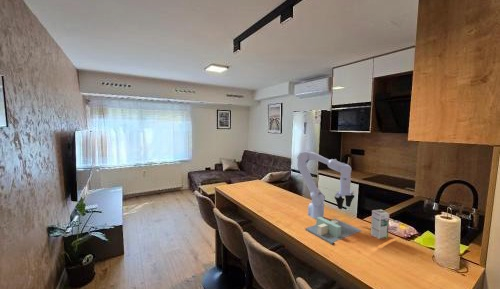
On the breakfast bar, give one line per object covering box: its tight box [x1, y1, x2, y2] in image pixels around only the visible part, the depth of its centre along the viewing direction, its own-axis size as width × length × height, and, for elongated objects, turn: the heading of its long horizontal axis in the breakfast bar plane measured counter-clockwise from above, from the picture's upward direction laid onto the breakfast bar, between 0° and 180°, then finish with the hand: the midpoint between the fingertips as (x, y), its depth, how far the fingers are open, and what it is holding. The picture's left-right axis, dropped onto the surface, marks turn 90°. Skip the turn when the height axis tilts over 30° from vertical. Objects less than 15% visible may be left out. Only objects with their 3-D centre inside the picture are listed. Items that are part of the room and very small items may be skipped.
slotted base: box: [304, 218, 363, 245], centre depth 127 cm, size 18×26×6 cm
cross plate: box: [315, 217, 341, 238], centre depth 124 cm, size 14×3×6 cm, turn 32°
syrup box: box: [370, 209, 390, 240], centre depth 120 cm, size 6×6×14 cm
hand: (344, 207), depth 135 cm, fingers open, 7 cm apart
